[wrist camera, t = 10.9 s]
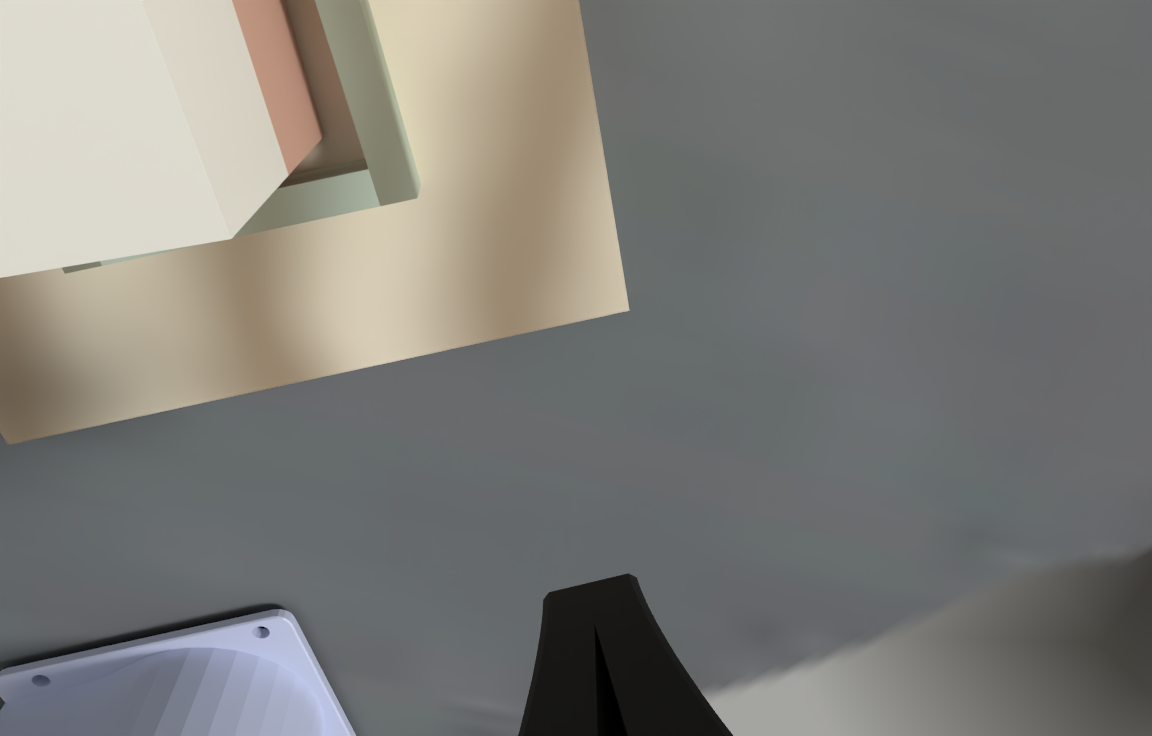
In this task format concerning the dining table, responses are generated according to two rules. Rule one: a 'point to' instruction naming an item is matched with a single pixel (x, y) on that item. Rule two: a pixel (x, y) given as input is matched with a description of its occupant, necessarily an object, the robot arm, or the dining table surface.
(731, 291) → the dining table surface
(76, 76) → the white brown rectangular block
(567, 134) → the board
